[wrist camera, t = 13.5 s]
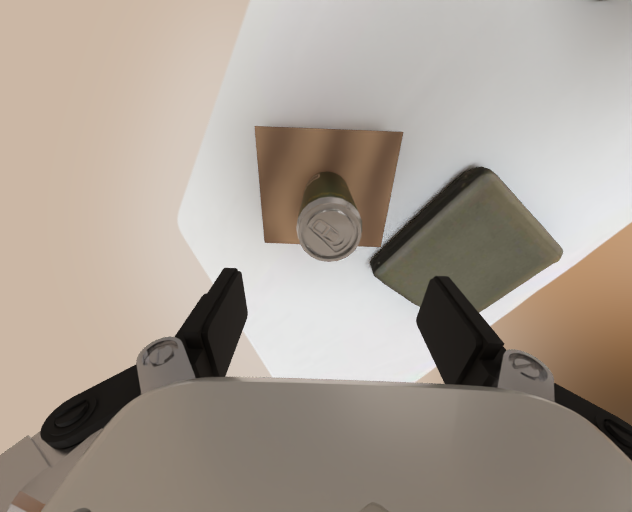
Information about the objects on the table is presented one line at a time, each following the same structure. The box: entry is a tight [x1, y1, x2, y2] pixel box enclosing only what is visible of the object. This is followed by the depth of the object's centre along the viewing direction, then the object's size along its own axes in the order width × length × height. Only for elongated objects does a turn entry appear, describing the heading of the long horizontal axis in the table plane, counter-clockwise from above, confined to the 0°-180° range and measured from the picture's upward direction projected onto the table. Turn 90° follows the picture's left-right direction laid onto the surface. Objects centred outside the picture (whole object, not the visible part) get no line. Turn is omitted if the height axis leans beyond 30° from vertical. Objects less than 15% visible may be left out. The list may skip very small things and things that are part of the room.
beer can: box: [296, 171, 362, 262], centre depth 23 cm, size 5×5×12 cm
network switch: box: [370, 167, 563, 312], centre depth 38 cm, size 23×23×5 cm
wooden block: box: [255, 126, 403, 247], centre depth 31 cm, size 16×14×7 cm
